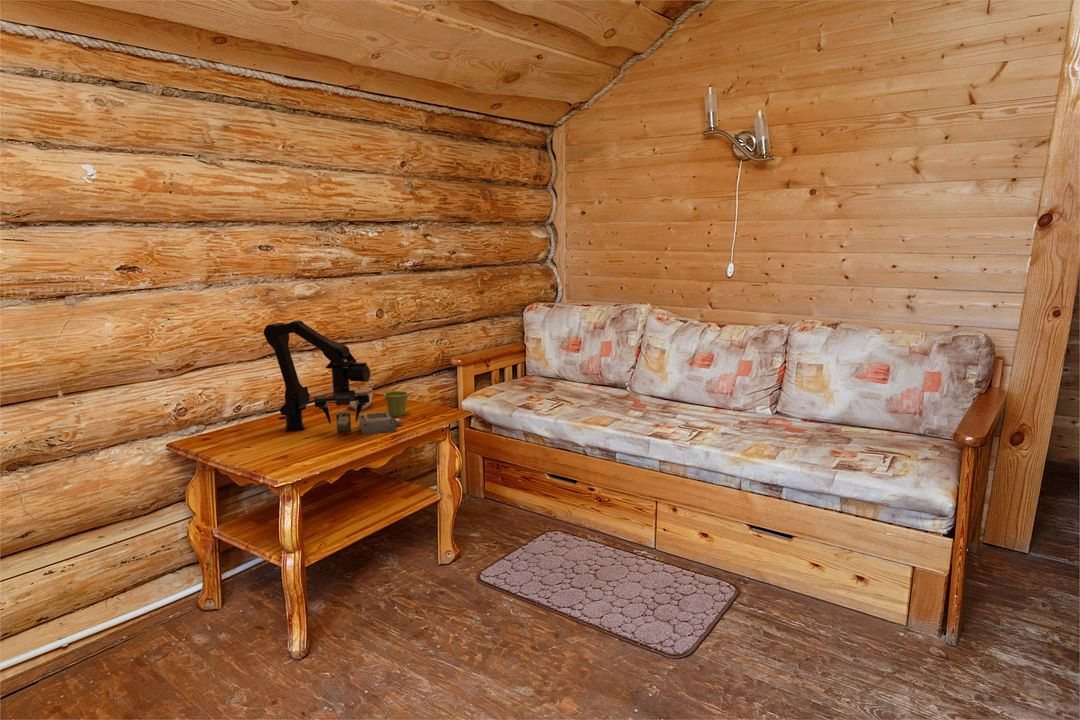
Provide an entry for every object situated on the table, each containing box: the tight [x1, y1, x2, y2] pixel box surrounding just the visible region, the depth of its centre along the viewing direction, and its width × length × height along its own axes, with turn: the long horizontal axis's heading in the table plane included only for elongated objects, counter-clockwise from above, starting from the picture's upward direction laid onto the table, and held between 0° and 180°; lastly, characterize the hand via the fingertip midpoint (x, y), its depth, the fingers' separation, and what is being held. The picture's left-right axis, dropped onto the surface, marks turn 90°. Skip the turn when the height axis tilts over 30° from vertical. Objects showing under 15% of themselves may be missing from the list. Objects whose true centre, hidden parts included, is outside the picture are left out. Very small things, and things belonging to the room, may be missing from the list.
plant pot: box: [383, 390, 409, 417], centre depth 254 cm, size 9×9×9 cm
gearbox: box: [358, 411, 403, 436], centre depth 238 cm, size 14×15×4 cm
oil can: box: [335, 410, 352, 435], centre depth 232 cm, size 7×5×8 cm
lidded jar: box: [349, 384, 374, 410], centre depth 265 cm, size 11×11×9 cm
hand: (343, 422), depth 233 cm, fingers open, 9 cm apart
